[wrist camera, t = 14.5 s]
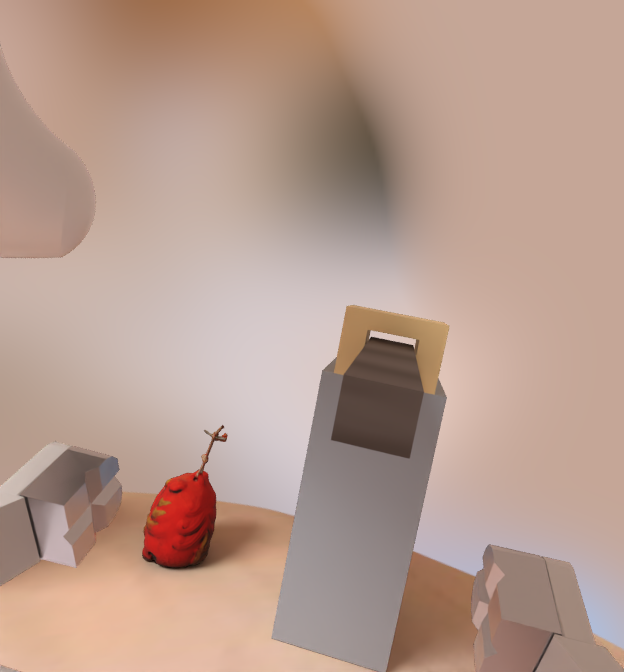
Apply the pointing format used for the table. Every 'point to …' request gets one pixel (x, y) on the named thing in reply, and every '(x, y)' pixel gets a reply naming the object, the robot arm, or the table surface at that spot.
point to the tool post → (359, 511)
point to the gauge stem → (380, 399)
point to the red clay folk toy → (182, 518)
